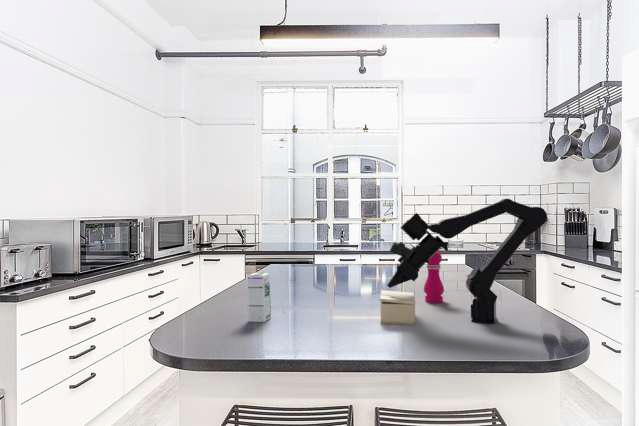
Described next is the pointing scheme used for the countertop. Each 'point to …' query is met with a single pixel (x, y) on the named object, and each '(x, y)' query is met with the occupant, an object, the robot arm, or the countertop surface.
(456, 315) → the countertop surface
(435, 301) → the pepper mill
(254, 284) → the syrup box
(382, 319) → the carton
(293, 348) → the countertop surface
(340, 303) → the countertop surface
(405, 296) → the lid
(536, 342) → the countertop surface
